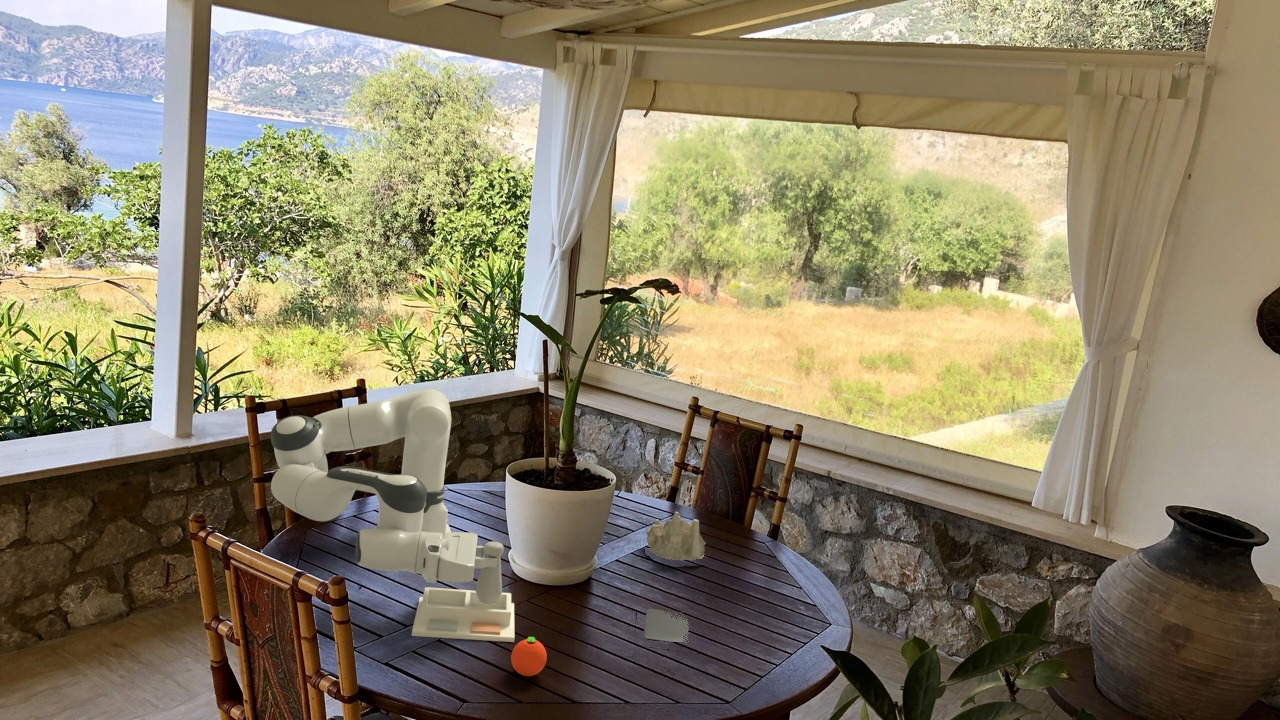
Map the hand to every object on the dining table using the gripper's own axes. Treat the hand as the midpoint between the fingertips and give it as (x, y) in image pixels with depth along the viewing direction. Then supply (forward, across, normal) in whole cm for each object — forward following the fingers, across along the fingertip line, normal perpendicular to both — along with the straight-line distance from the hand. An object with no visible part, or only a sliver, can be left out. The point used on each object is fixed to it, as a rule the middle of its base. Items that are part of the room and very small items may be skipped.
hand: (497, 558), depth 198 cm
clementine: (+8, +23, -14) cm, 28 cm away
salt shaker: (-1, 0, -10) cm, 10 cm away
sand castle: (+50, -47, -14) cm, 70 cm away
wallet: (+40, 0, -15) cm, 43 cm away
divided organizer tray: (-5, +2, -14) cm, 15 cm away
